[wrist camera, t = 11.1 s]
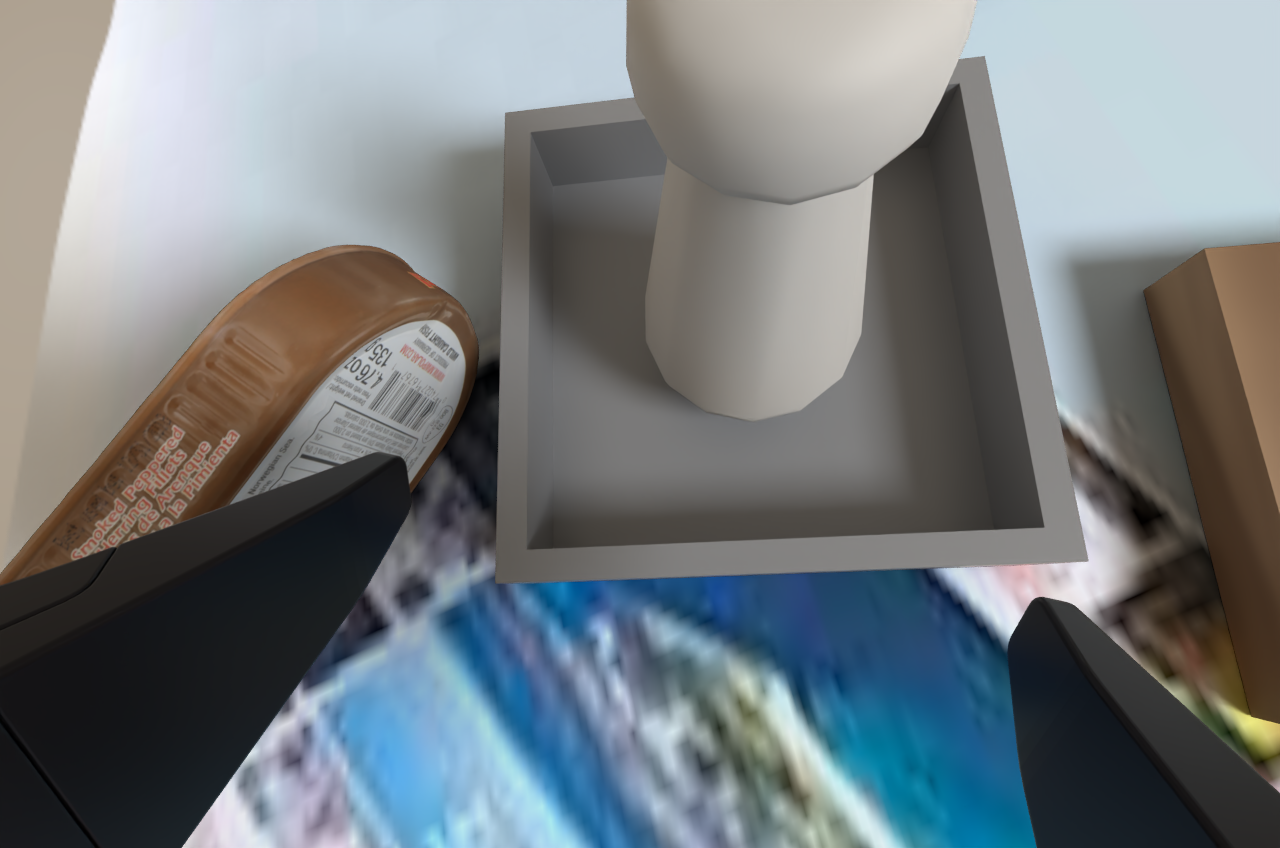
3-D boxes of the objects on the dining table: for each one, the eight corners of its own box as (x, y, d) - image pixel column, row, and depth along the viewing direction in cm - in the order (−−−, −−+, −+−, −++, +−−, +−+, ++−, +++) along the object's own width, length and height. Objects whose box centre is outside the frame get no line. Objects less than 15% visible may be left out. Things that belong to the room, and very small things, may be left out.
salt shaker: (615, 364, 20) (441, -9, 7) (727, 230, 20) (743, -322, 8) (767, 478, 18) (875, 256, 6) (883, 330, 19) (1199, -152, 7)
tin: (457, 318, 22) (303, 163, 14) (528, 364, 21) (410, 228, 13) (170, 699, 20) (-209, 781, 12) (238, 764, 19) (-115, 899, 11)
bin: (534, 583, 19) (495, 583, 16) (536, 182, 23) (505, 112, 19) (1018, 565, 18) (1088, 561, 14) (942, 139, 21) (984, 56, 18)
